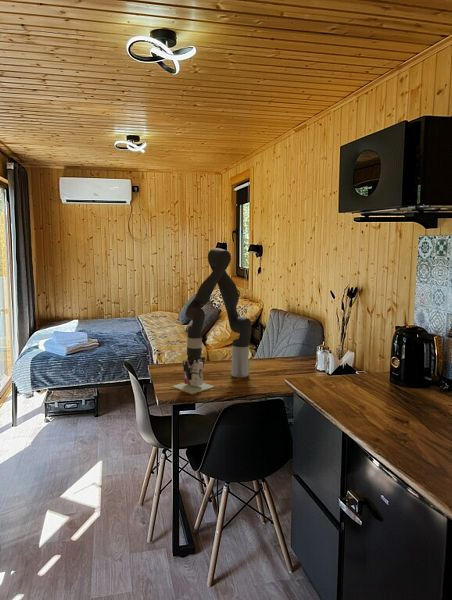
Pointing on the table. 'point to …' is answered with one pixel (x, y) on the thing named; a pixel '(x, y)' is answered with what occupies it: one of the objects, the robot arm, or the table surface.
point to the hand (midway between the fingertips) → (193, 378)
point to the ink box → (195, 375)
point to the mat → (192, 387)
